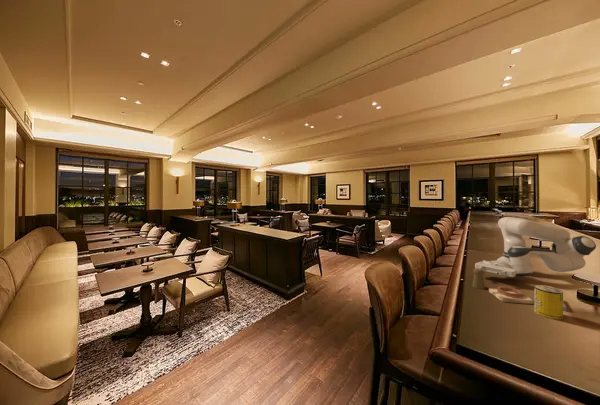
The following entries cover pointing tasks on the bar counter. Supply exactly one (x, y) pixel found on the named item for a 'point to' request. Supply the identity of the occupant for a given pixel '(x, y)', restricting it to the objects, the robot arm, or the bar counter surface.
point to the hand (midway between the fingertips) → (489, 271)
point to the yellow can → (548, 302)
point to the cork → (478, 279)
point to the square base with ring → (510, 295)
